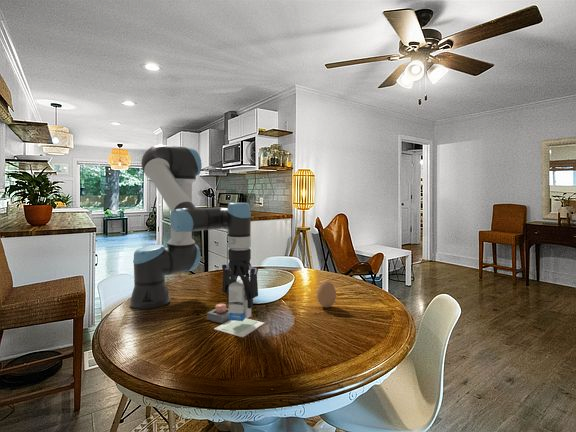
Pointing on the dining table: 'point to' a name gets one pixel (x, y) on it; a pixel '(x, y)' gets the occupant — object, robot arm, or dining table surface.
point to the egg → (326, 294)
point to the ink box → (237, 301)
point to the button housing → (218, 316)
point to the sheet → (239, 327)
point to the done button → (221, 308)
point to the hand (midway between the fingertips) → (240, 315)
